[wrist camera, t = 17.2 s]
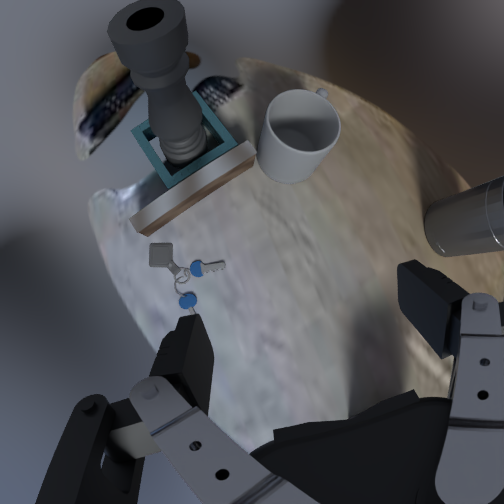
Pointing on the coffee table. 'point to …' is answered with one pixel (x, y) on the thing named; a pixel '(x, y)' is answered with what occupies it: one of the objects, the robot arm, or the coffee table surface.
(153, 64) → the candle holder
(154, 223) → the door edge rail
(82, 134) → the coffee table surface
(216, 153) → the frame
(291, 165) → the mug
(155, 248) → the key chain
